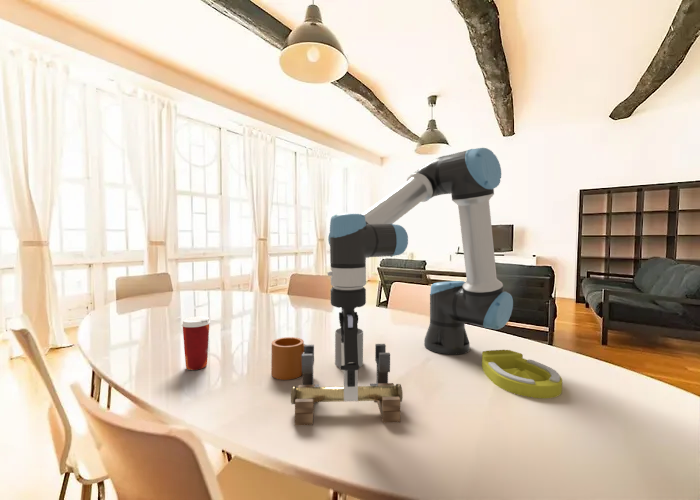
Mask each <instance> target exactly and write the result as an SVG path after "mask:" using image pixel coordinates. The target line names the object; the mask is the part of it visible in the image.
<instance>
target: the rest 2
mask: <svg viewBox="0 0 700 500" xmlns="http://www.w3.org/2000/svg"><path fill="white" fill-rule="evenodd" d="M394 385H395V384H394V383H393V382H388V383H378V386H394ZM376 403H377V407H378V409H379V413H380V417H381V421H382V423H383V424H387V423H388V424H390V423H401V402H400V398H399V397H382V401H376Z"/></svg>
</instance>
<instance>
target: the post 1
mask: <svg viewBox="0 0 700 500" xmlns="http://www.w3.org/2000/svg"><path fill="white" fill-rule="evenodd" d="M313 364H314V365H315V344H305V345H304V354H302V374H303V375H302V385H315V387H320V384H314V365H313Z"/></svg>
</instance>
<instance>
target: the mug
mask: <svg viewBox="0 0 700 500" xmlns="http://www.w3.org/2000/svg"><path fill="white" fill-rule="evenodd" d="M304 342H305V341H304V339H302V338H300V337H293V336H289V337H280V338H276V339H274V340H272V341H271V358H270V359H271V362H270V363H271V365H270V366H271V368H270V370H271V373H270V374H271V377H272V378H274V379H277V380H281V381H282V380H283V381H287V380H294V379H297V378H299V377H301V376H303V374H302V354H304V345H306V344H305V343H304ZM313 366H315V363H314V364H313Z"/></svg>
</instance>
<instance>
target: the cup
mask: <svg viewBox="0 0 700 500" xmlns="http://www.w3.org/2000/svg"><path fill="white" fill-rule="evenodd" d="M334 333H335V334H334V339H335V340H334V343H335V344H334V365H335V366H336V367H337V368H338V369H341V366H342V362H341V343H344V342H342V341H341V338H342V337H341V327H340V328H337V329H335V331H334ZM357 347H358V365H359V368H361V367H363V364H364V330H363V329H362V328H359V327H358V334H357ZM353 363H354V362H353Z"/></svg>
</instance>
